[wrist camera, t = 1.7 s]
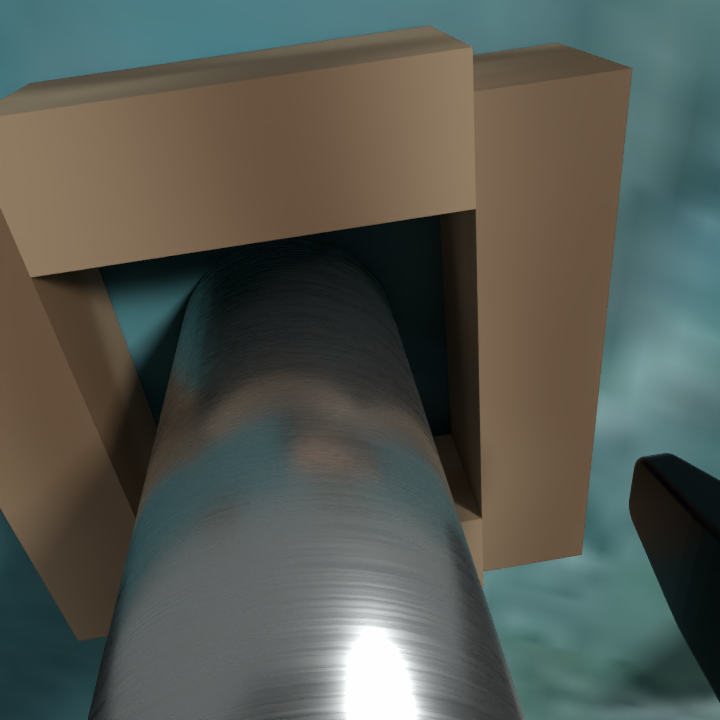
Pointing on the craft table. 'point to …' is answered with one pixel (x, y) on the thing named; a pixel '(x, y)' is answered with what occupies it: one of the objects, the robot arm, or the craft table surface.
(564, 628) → the craft table surface
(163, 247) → the brown wooden square frame
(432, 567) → the silver metal cylinder
